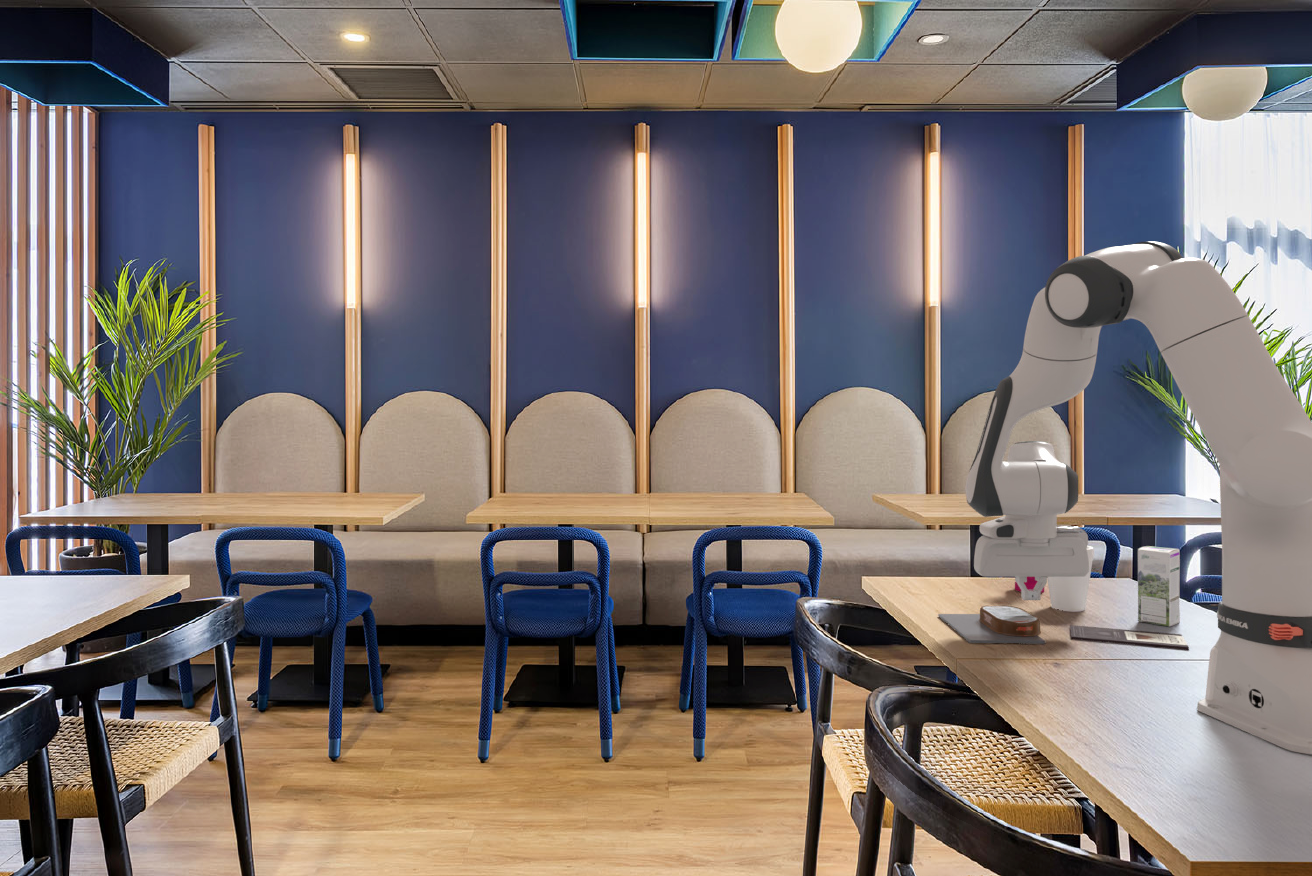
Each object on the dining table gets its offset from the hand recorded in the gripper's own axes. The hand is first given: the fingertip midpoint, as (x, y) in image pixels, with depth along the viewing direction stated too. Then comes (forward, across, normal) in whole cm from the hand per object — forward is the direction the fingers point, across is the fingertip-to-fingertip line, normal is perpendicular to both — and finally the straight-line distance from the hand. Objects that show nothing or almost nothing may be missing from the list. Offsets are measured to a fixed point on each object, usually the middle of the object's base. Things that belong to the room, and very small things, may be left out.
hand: (1030, 599), depth 155 cm
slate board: (+6, +8, 0) cm, 10 cm away
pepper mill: (+6, -13, -36) cm, 39 cm away
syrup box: (+6, -26, -6) cm, 28 cm away
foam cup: (+6, -14, -18) cm, 24 cm away
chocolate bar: (+6, -14, +6) cm, 17 cm away
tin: (+4, 0, 0) cm, 4 cm away
